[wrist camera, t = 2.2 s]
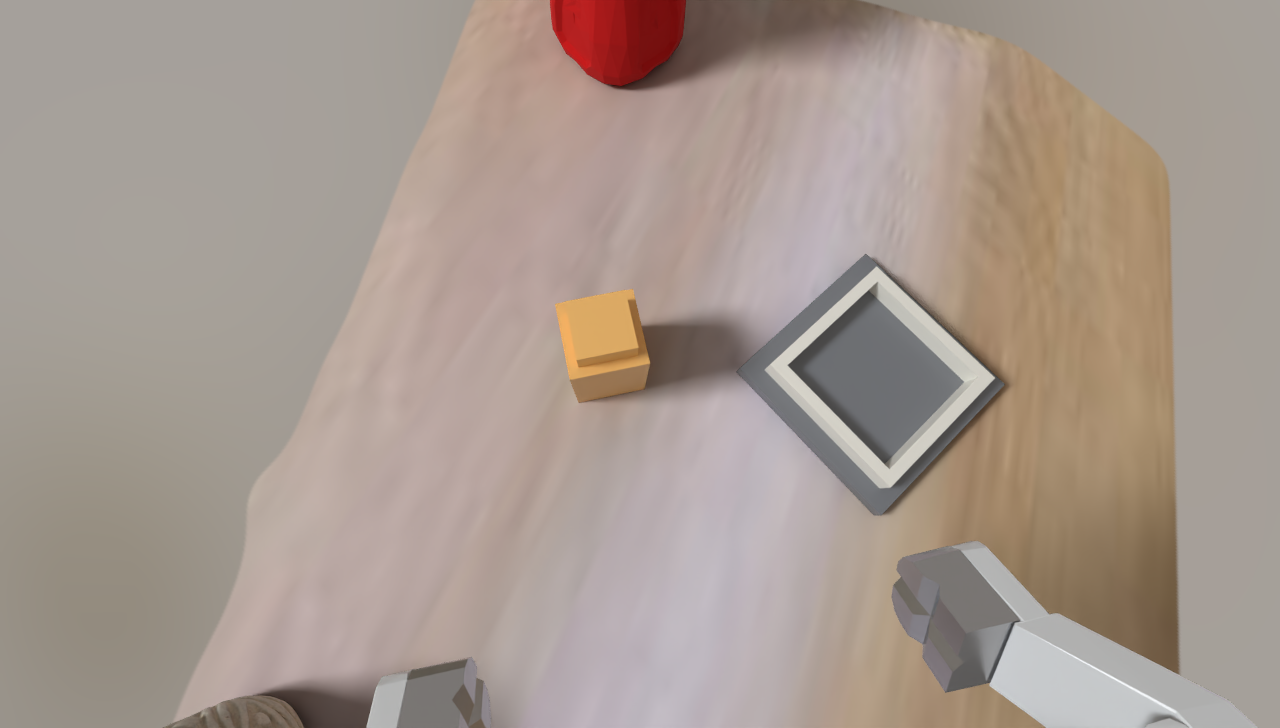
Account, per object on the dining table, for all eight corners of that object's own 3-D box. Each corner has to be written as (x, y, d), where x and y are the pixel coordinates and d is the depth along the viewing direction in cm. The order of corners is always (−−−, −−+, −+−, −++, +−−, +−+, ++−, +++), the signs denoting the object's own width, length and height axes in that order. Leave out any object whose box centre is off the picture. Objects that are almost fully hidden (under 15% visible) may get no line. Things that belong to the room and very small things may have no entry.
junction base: (995, 387, 38) (1020, 379, 36) (873, 515, 36) (892, 515, 34) (859, 259, 41) (875, 244, 38) (736, 371, 38) (744, 362, 36)
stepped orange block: (644, 388, 38) (651, 355, 29) (578, 402, 37) (567, 373, 29) (630, 326, 39) (633, 278, 30) (566, 339, 38) (551, 293, 30)
